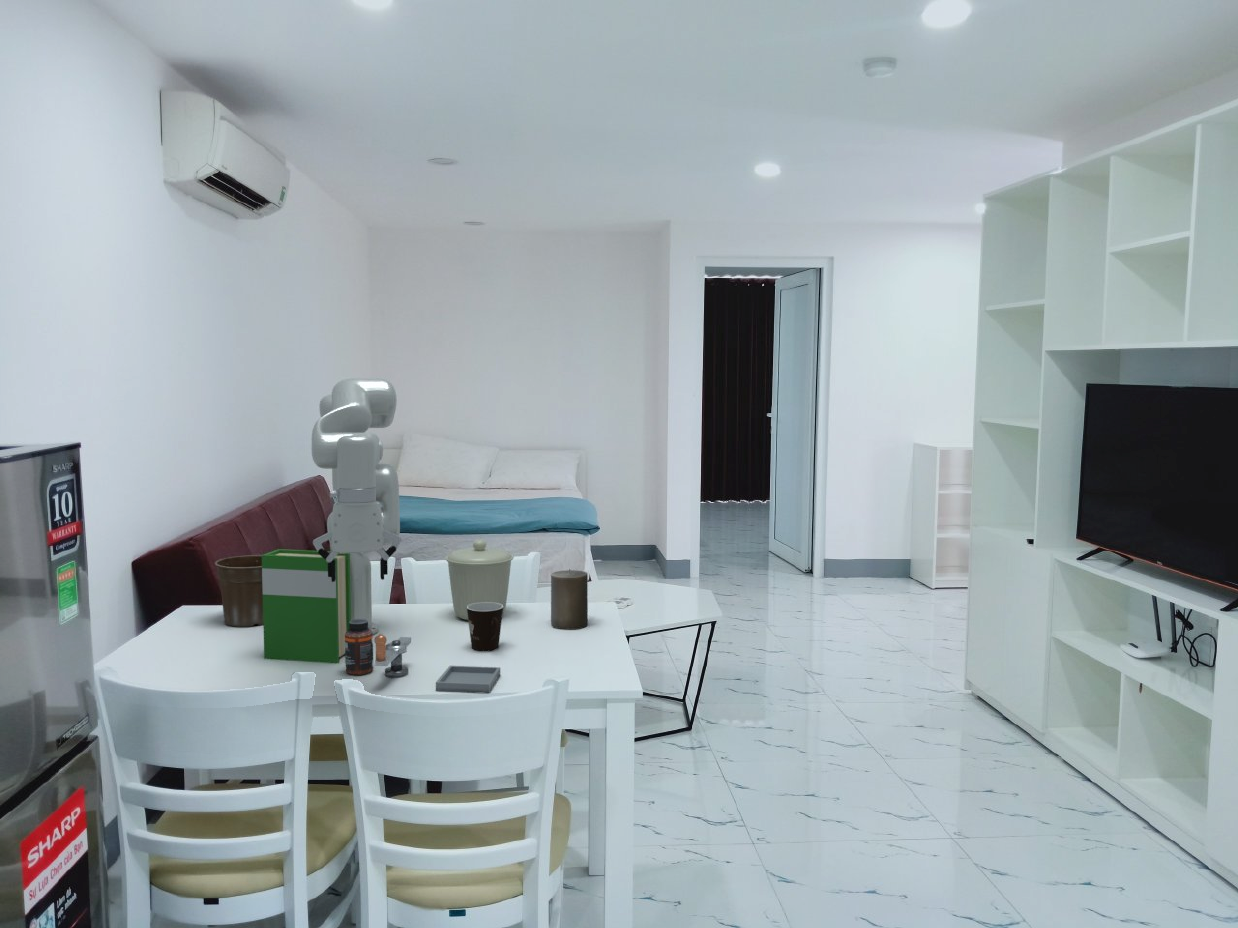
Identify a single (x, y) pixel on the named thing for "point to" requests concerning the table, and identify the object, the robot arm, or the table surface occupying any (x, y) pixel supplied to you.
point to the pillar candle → (569, 599)
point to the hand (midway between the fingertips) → (358, 579)
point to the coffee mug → (485, 625)
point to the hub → (396, 668)
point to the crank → (389, 649)
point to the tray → (468, 679)
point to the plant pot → (241, 590)
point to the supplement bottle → (359, 648)
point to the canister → (478, 576)
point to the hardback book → (305, 606)
